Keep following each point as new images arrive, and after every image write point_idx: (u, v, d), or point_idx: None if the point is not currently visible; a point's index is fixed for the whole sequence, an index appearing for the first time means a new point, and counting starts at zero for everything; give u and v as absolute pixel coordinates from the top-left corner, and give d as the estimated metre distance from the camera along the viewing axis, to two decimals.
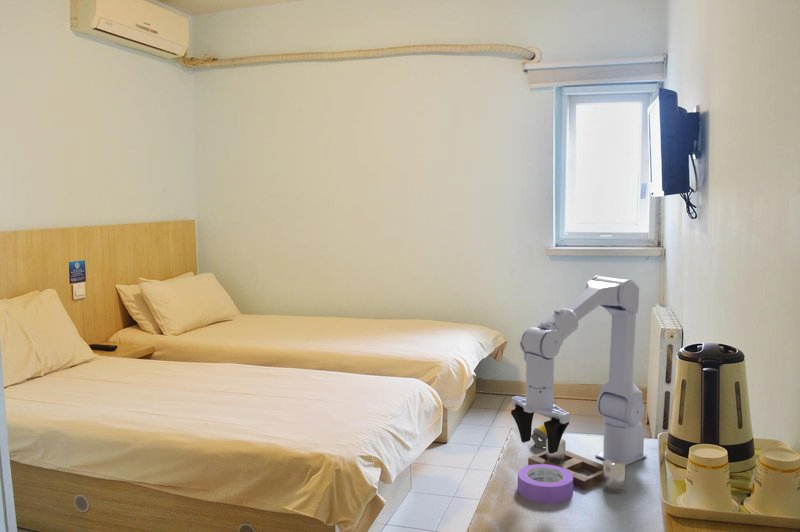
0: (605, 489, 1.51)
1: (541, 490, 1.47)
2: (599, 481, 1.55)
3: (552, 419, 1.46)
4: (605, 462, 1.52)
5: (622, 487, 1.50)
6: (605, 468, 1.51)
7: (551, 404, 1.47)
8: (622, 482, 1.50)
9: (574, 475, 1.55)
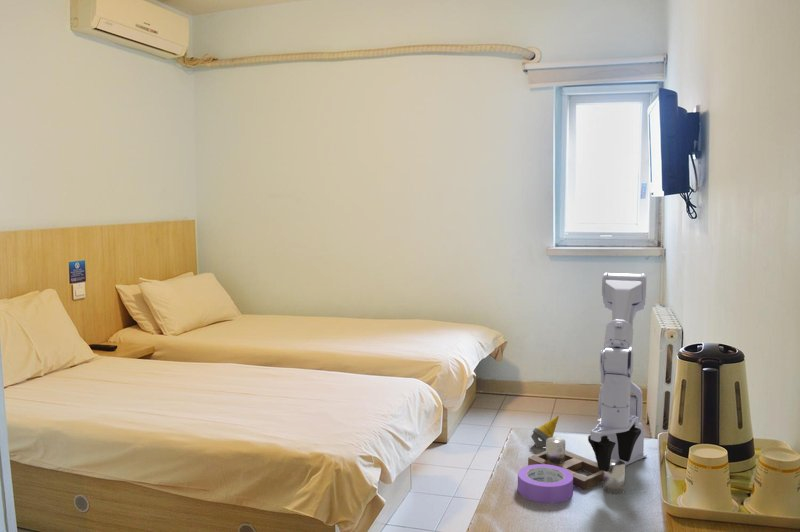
0: (605, 489, 1.51)
1: (541, 490, 1.47)
2: (599, 481, 1.55)
3: None
4: None
5: (622, 487, 1.50)
6: None
7: (610, 424, 1.48)
8: (622, 482, 1.50)
9: (574, 475, 1.55)
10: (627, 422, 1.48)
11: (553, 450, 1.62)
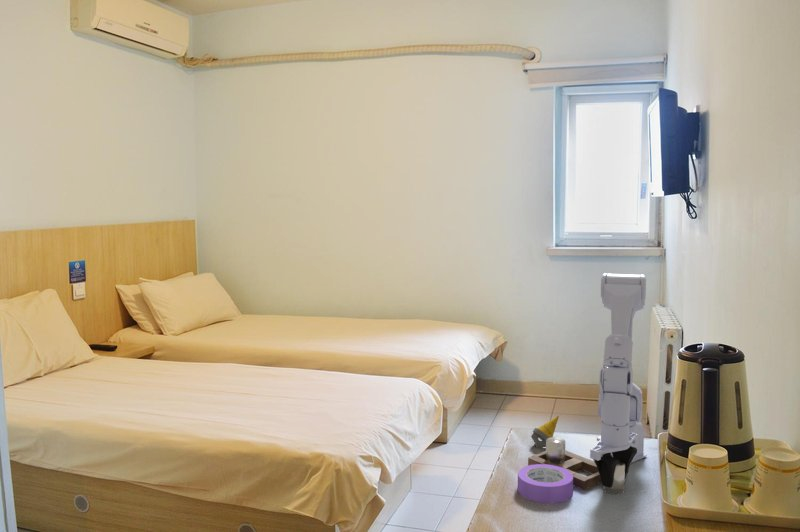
0: (605, 489, 1.51)
1: (541, 490, 1.47)
2: (599, 481, 1.55)
3: None
4: None
5: (622, 487, 1.50)
6: None
7: (609, 443, 1.48)
8: (622, 482, 1.50)
9: (574, 475, 1.55)
10: (627, 440, 1.48)
11: (553, 450, 1.62)
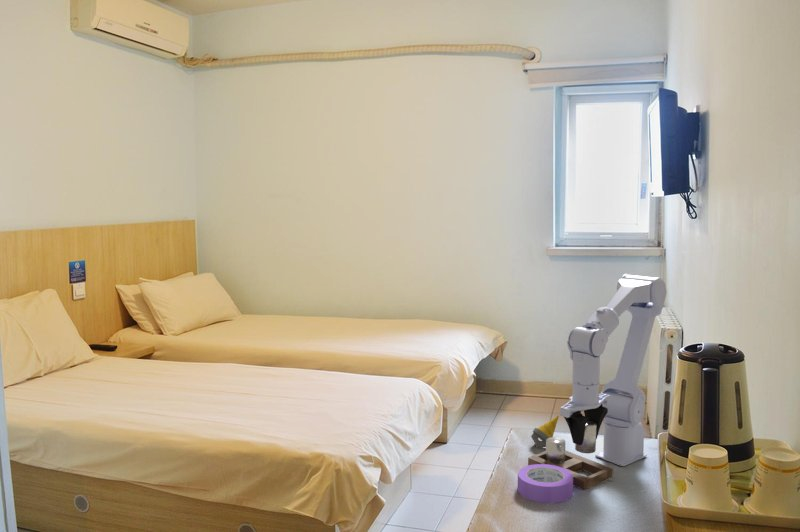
0: (577, 448, 1.56)
1: (541, 490, 1.47)
2: (599, 481, 1.55)
3: None
4: None
5: (593, 446, 1.55)
6: None
7: (580, 401, 1.53)
8: (593, 442, 1.55)
9: (574, 475, 1.55)
10: (596, 399, 1.53)
11: (553, 450, 1.62)
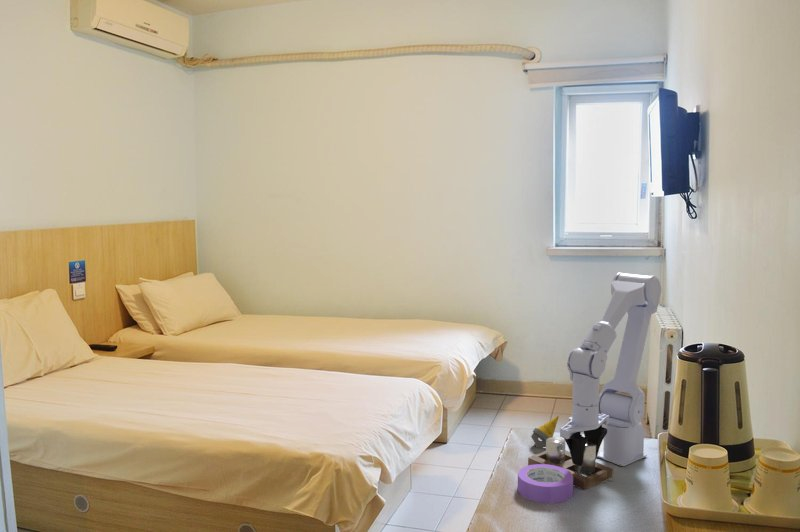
0: (576, 469, 1.57)
1: (541, 490, 1.47)
2: (599, 481, 1.55)
3: None
4: None
5: (593, 467, 1.56)
6: None
7: (579, 422, 1.54)
8: (593, 462, 1.56)
9: (574, 475, 1.55)
10: (596, 420, 1.54)
11: (553, 450, 1.62)
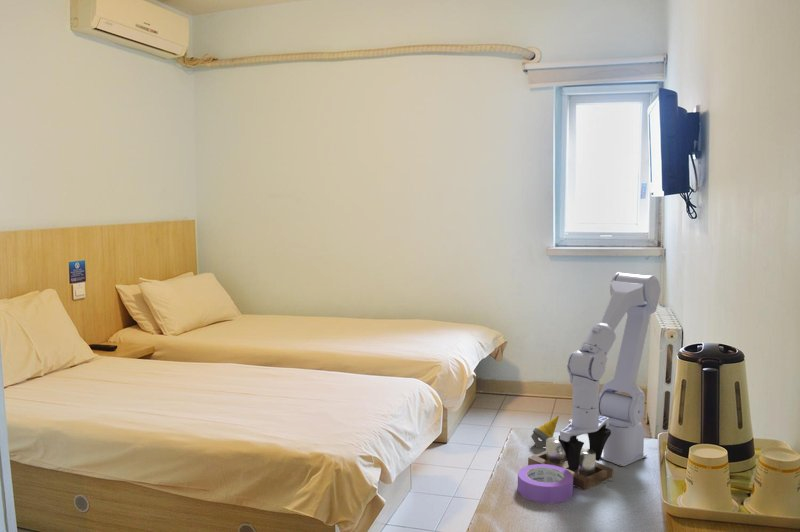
0: None
1: (541, 490, 1.47)
2: (599, 481, 1.55)
3: None
4: None
5: None
6: None
7: (579, 425, 1.54)
8: (592, 470, 1.56)
9: (574, 475, 1.55)
10: (596, 423, 1.54)
11: (553, 450, 1.62)
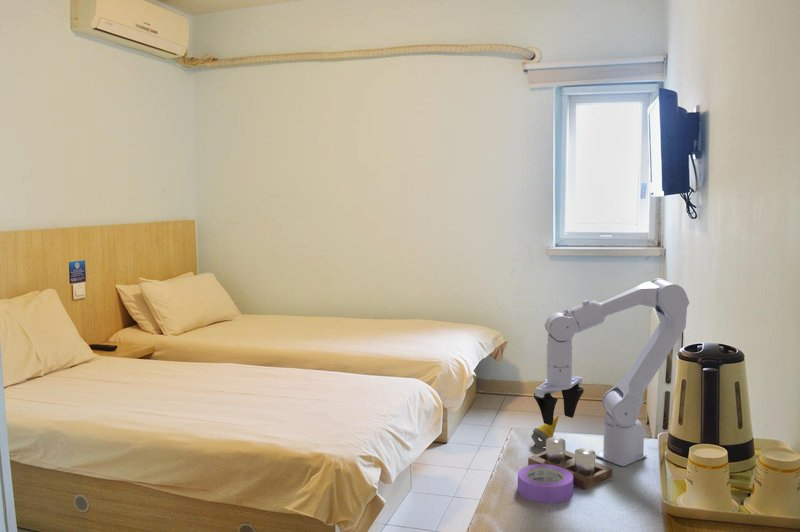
0: None
1: (541, 490, 1.47)
2: (599, 481, 1.55)
3: None
4: (576, 451, 1.58)
5: None
6: (576, 457, 1.57)
7: (553, 383, 1.64)
8: (592, 470, 1.56)
9: (574, 475, 1.55)
10: (569, 381, 1.64)
11: (553, 450, 1.62)
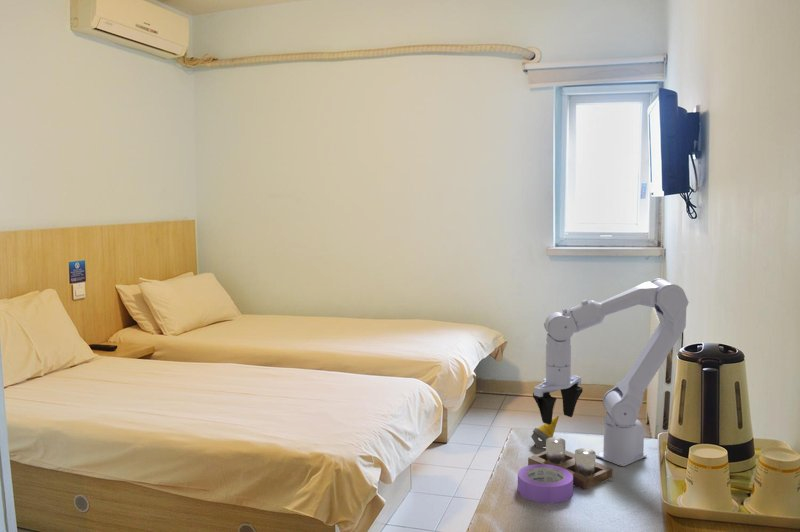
0: None
1: (541, 490, 1.47)
2: (599, 481, 1.55)
3: None
4: (576, 451, 1.58)
5: None
6: (576, 457, 1.57)
7: (552, 382, 1.65)
8: (592, 470, 1.56)
9: (574, 475, 1.55)
10: (568, 380, 1.65)
11: (553, 450, 1.62)
